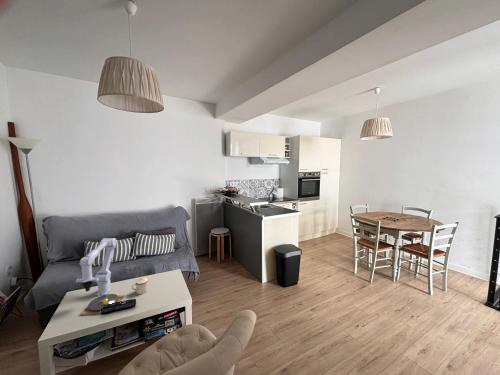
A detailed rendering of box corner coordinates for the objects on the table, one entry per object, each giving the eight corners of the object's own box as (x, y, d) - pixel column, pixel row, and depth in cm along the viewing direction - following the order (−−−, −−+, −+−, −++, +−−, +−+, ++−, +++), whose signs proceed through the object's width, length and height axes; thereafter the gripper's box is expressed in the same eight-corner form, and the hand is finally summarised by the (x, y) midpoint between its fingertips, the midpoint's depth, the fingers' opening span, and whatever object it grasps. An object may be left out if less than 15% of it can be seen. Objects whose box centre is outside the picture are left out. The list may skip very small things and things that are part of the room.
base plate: (97, 298, 161) (97, 296, 161) (124, 296, 163) (124, 294, 163) (79, 315, 141) (79, 314, 141) (110, 313, 144) (110, 311, 144)
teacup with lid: (148, 287, 176) (148, 274, 175) (148, 292, 168) (147, 279, 167) (132, 290, 171) (132, 277, 171) (131, 296, 163) (130, 282, 162)
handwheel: (83, 313, 141) (82, 304, 141) (95, 298, 159) (95, 290, 158) (112, 309, 146) (112, 300, 145) (121, 294, 163) (121, 287, 163)
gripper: (72, 276, 147) (73, 294, 148) (94, 275, 149) (95, 293, 150) (79, 271, 154) (80, 289, 155) (100, 270, 156) (100, 287, 157)
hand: (88, 290), depth 153 cm, fingers closed
